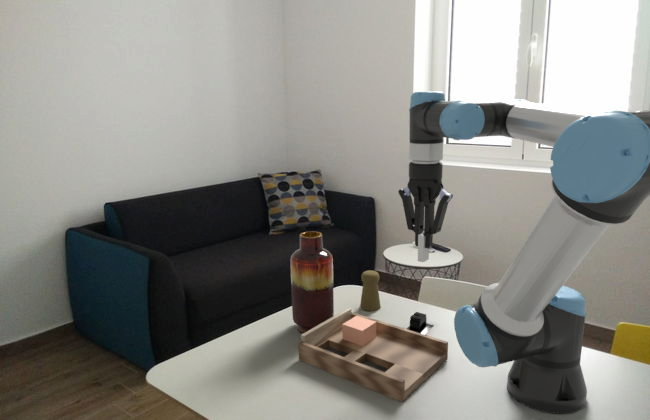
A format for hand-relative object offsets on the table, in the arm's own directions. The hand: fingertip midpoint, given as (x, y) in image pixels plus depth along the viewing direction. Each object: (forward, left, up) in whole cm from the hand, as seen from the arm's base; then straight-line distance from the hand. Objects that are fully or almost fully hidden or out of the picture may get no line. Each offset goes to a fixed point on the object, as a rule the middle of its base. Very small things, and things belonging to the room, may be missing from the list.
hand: (423, 260), depth 121 cm
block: (+12, +9, -20) cm, 25 cm away
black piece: (+5, -8, -23) cm, 25 cm away
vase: (+28, +8, -23) cm, 37 cm away
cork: (+23, -12, -23) cm, 34 cm away
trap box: (+6, +13, -22) cm, 26 cm away
